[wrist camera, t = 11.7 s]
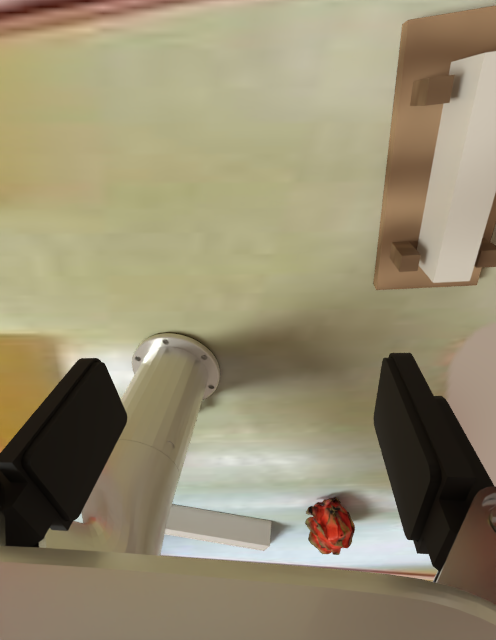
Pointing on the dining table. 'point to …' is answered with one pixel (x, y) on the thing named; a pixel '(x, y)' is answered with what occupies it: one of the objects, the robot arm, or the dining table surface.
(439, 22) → the plank with four pegs
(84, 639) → the robot arm
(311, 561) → the dining table surface
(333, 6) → the dining table surface
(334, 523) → the dragon fruit
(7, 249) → the dining table surface
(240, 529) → the white wedge ramp
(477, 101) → the clay strip
